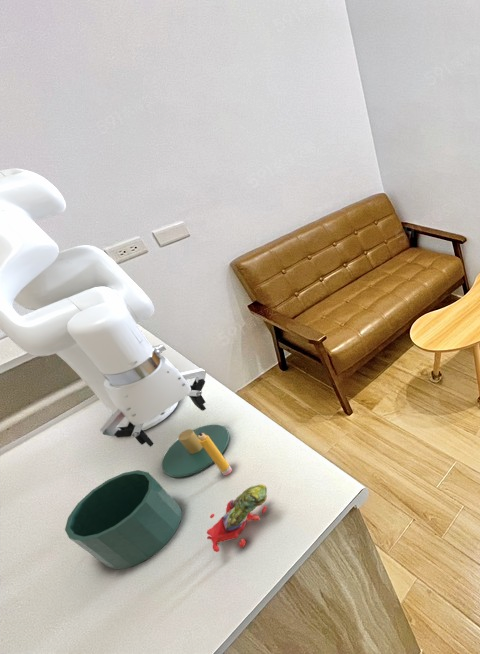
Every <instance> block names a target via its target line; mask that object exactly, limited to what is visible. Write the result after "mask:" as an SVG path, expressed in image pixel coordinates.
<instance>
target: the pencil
mask: <svg viewBox="0 0 480 654" xmlns="http://www.w3.org/2000/svg"><path fill="white" fill-rule="evenodd" d="M198 437H199V442H200V444H201V445H202V446H203V448H204V449H205V450H206V452H207V453H208V455H209V456H210V457H211V459H212V460H213V461H214V462H213V463H214V465H216V467H217V468H218V470H219V471H220V472H221V473H222V475H223V476H228V475H230V474H231V473H232V471H233V468H232V467H231V465H230V464H229V463H228V461H227V460H226V458H225V457H224V456H223V453H222V454H221V453H220V451H219V450H218V449H217V447H216V446H215V444H214V443H213V442H212V440H211V439H210V437H209V436H208V435H205V434H204V433H201V432H200V433H199V436H198Z"/></svg>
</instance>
